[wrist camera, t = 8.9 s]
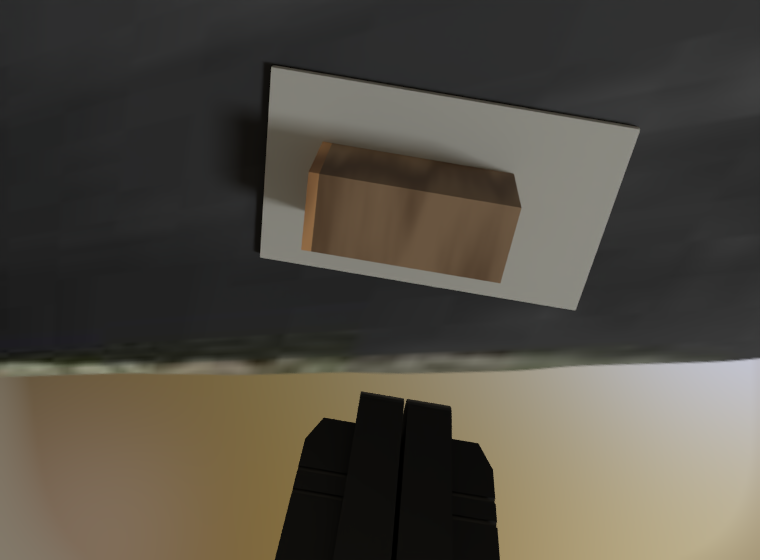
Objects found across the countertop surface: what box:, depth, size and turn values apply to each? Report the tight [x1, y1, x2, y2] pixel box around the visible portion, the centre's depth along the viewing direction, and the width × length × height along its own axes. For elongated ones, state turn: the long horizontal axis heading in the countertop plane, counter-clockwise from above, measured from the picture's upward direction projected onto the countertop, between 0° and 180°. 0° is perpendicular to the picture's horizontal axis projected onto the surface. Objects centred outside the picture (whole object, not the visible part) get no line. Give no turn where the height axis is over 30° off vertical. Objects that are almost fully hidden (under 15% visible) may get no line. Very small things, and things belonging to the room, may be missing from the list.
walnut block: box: [301, 142, 521, 283], centre depth 41 cm, size 5×5×12 cm
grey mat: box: [260, 65, 640, 310], centre depth 43 cm, size 22×13×1 cm, turn 82°
